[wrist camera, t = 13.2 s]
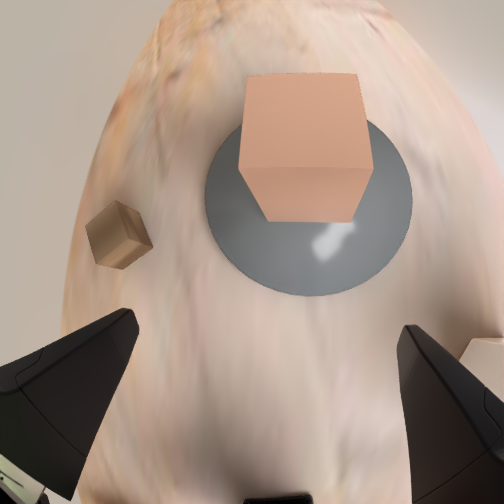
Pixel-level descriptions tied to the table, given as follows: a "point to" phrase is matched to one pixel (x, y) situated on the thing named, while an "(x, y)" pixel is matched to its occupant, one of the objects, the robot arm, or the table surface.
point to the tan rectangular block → (305, 146)
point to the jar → (486, 362)
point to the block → (117, 236)
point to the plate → (310, 227)
